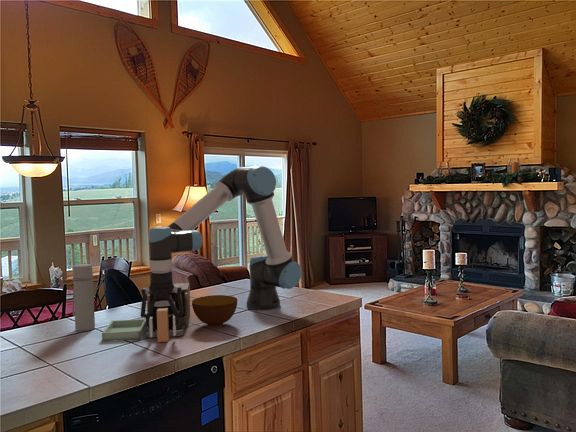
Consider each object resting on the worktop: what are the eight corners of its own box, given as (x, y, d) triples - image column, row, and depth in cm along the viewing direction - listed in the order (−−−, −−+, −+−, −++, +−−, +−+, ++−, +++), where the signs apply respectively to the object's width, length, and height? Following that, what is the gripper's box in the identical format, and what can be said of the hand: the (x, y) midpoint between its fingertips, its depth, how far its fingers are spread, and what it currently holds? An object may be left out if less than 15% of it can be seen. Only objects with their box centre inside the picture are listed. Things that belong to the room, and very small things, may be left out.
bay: (190, 315, 205) (189, 283, 204) (187, 327, 188) (186, 291, 187) (153, 317, 203) (152, 284, 202) (147, 329, 186) (146, 293, 185)
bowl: (220, 316, 203) (219, 293, 202) (247, 325, 190) (246, 299, 189) (183, 325, 190) (182, 300, 190) (210, 335, 178) (209, 308, 177)
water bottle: (100, 327, 190) (97, 264, 188) (85, 333, 182) (82, 267, 181) (81, 325, 193) (78, 263, 191) (66, 331, 185) (63, 266, 184)
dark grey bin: (185, 323, 192) (184, 296, 191) (181, 340, 171) (180, 309, 170) (152, 325, 190) (151, 297, 189) (144, 342, 169) (143, 311, 168)
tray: (147, 326, 190) (146, 318, 190) (140, 339, 174) (140, 331, 174) (112, 328, 188) (111, 320, 188) (102, 341, 172) (101, 333, 172)
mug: (159, 334, 179) (158, 307, 179) (147, 329, 186) (146, 303, 185) (187, 327, 188) (186, 301, 187) (175, 323, 194) (174, 298, 194)
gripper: (191, 268, 175) (192, 330, 176) (133, 270, 172) (135, 333, 174) (189, 271, 168) (191, 337, 169) (129, 274, 165) (131, 340, 166)
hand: (163, 335), depth 171 cm, fingers open, 7 cm apart
